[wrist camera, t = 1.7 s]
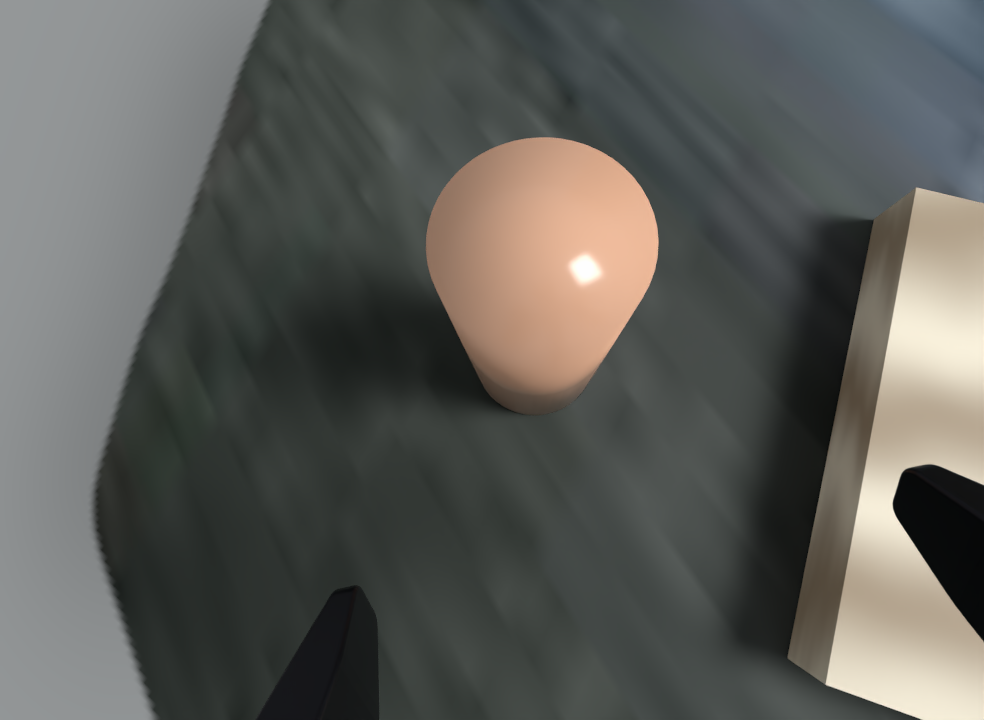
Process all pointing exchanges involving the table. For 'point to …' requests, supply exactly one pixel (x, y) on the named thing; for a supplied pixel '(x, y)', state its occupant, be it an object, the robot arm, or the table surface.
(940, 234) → the birch base plate
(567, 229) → the peach capsule
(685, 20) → the table surface
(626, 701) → the table surface
